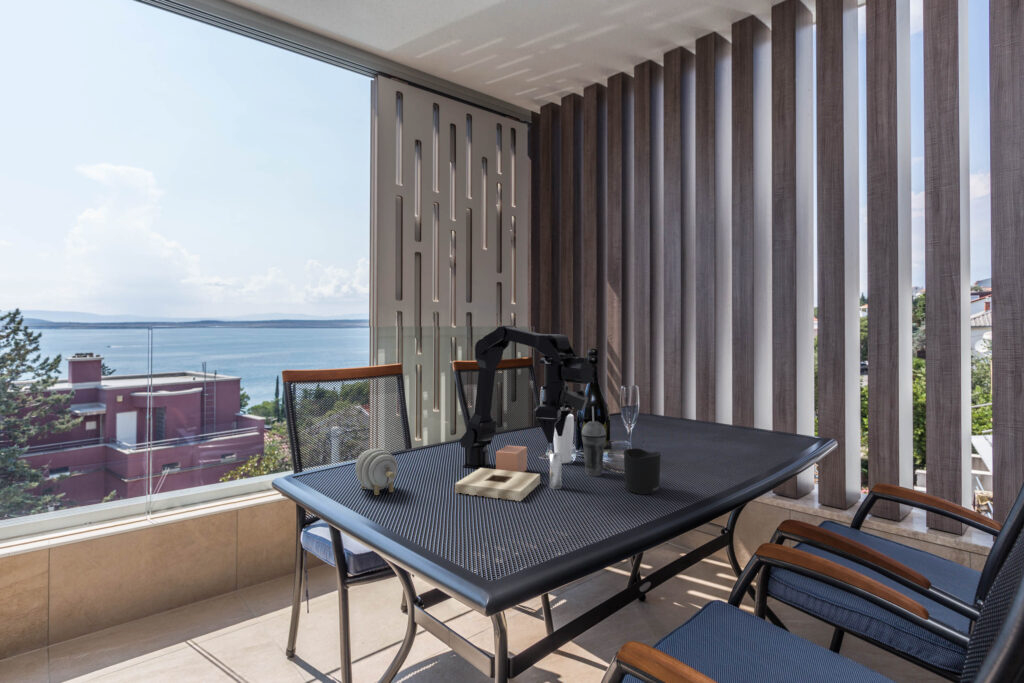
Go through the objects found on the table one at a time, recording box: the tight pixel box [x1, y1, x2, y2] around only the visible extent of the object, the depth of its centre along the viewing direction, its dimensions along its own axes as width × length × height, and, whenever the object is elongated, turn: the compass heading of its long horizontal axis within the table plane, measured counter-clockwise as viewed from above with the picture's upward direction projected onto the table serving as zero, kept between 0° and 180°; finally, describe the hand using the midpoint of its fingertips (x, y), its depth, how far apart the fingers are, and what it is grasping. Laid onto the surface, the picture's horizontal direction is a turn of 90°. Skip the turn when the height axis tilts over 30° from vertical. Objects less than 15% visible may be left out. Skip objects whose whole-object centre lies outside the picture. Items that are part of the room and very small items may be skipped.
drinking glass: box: [553, 413, 575, 464], centre depth 167 cm, size 7×7×15 cm
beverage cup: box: [581, 406, 608, 477], centre depth 153 cm, size 7×7×20 cm
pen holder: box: [623, 447, 662, 495], centre depth 139 cm, size 9×9×10 cm
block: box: [495, 444, 528, 473], centre depth 155 cm, size 6×9×7 cm
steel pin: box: [549, 452, 563, 490], centre depth 141 cm, size 3×3×9 cm
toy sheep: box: [354, 448, 399, 496], centre depth 138 cm, size 11×17×11 cm, turn 46°
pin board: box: [454, 467, 541, 502], centre depth 140 cm, size 18×16×2 cm
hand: (555, 439), depth 141 cm, fingers open, 9 cm apart
